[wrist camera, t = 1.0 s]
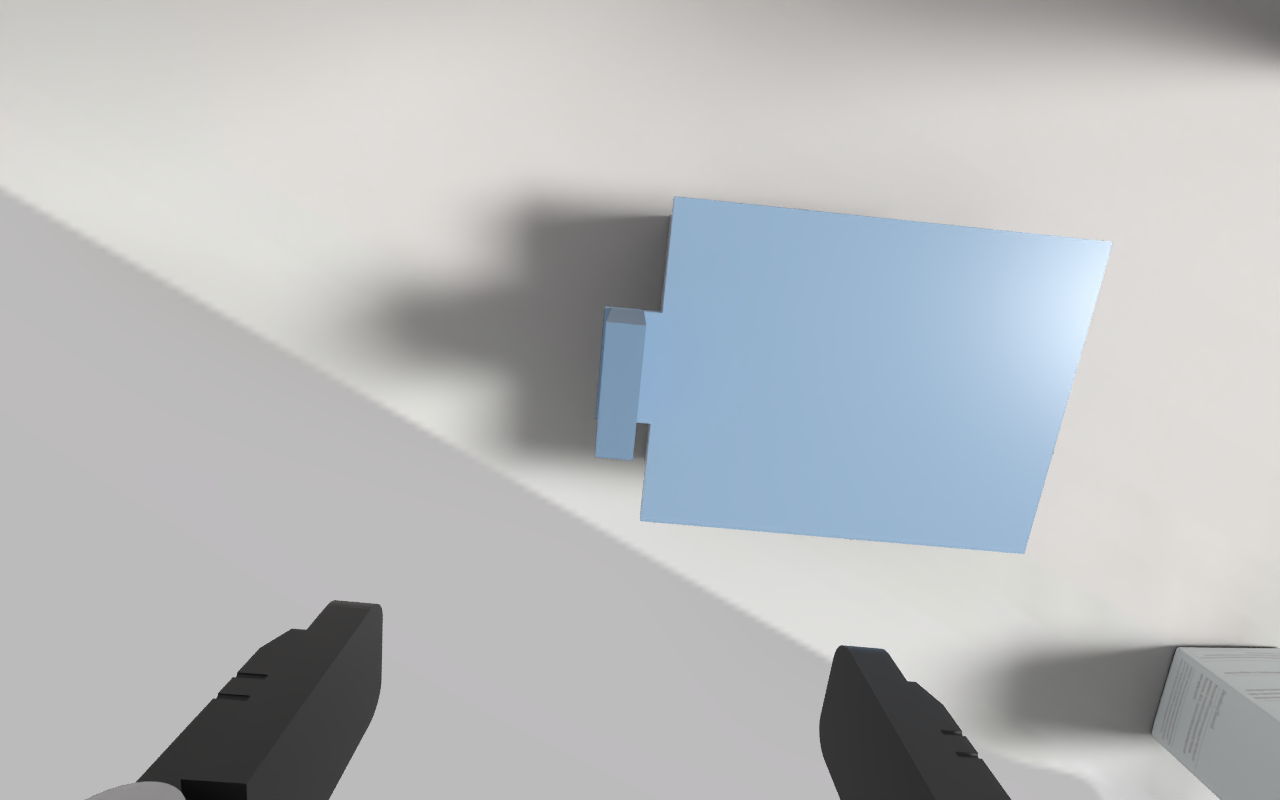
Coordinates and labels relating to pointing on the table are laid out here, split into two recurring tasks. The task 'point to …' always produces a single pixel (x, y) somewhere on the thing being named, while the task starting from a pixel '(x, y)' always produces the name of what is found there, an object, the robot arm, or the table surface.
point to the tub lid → (849, 374)
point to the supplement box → (1224, 719)
